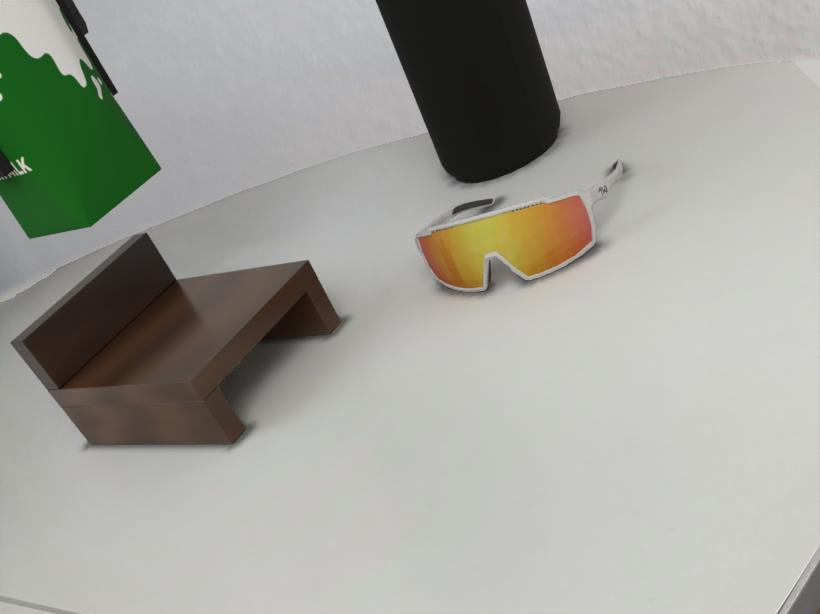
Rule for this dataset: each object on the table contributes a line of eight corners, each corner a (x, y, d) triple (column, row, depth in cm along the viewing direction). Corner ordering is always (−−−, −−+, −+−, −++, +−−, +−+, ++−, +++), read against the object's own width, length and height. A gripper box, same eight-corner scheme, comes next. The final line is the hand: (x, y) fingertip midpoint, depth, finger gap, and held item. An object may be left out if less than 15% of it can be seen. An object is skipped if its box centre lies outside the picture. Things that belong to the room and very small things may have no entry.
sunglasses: (410, 312, 69) (382, 241, 66) (479, 234, 79) (458, 169, 76) (603, 268, 62) (582, 188, 59) (650, 189, 73) (634, 117, 70)
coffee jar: (510, 121, 89) (430, -112, 77) (591, 121, 81) (516, -138, 69) (424, 184, 86) (327, -47, 74) (499, 190, 78) (404, -66, 66)
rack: (90, 444, 75) (9, 342, 69) (198, 335, 82) (133, 234, 76) (232, 444, 66) (153, 326, 60) (341, 321, 73) (280, 205, 67)
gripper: (-447, -310, 39) (-42, 222, 54) (-53, -425, 50) (194, 44, 65) (-495, -236, 43) (-108, 238, 58) (-123, -356, 54) (124, 69, 69)
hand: (51, 136), depth 61 cm, fingers closed on milk carton, 9 cm apart
